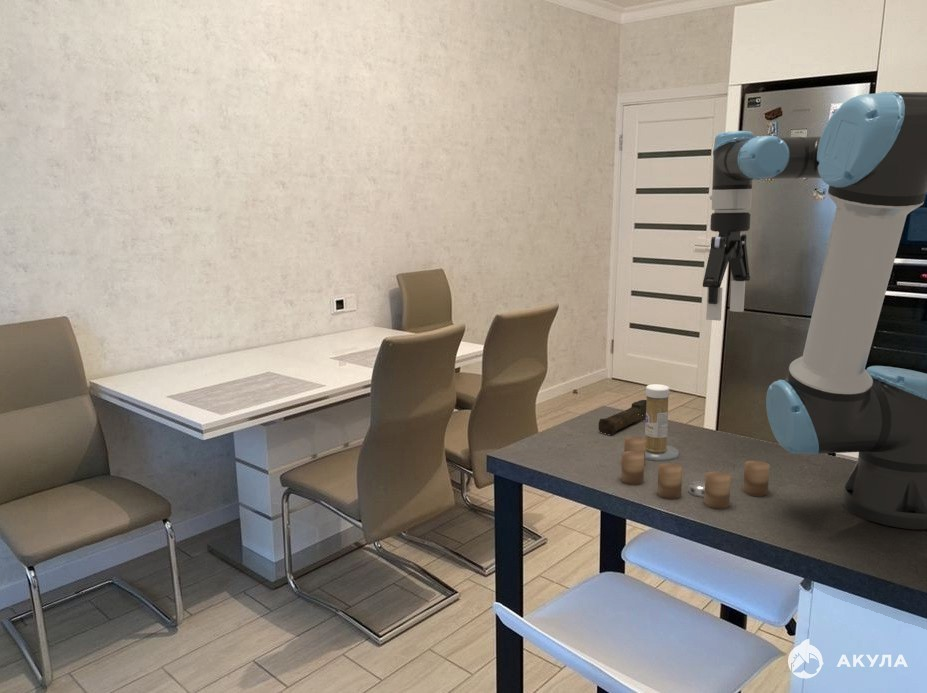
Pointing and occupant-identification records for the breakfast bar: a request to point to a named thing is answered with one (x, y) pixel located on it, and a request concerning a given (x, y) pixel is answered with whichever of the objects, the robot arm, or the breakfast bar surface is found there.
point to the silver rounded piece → (697, 488)
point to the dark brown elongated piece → (624, 418)
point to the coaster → (662, 454)
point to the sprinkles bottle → (656, 418)
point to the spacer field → (672, 476)
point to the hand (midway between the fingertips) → (725, 315)
